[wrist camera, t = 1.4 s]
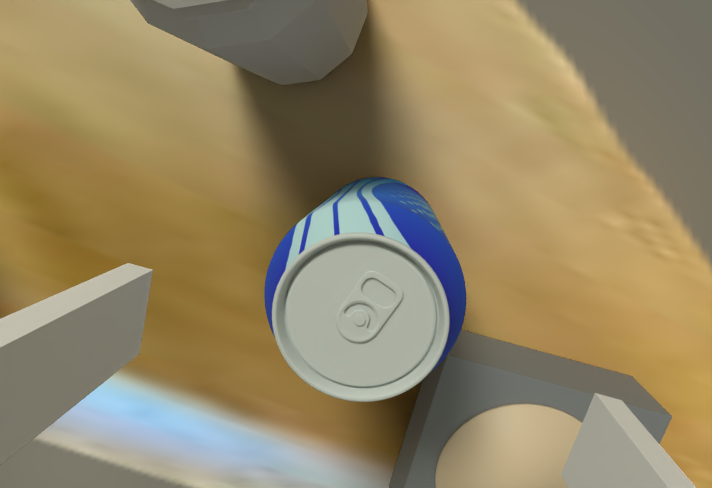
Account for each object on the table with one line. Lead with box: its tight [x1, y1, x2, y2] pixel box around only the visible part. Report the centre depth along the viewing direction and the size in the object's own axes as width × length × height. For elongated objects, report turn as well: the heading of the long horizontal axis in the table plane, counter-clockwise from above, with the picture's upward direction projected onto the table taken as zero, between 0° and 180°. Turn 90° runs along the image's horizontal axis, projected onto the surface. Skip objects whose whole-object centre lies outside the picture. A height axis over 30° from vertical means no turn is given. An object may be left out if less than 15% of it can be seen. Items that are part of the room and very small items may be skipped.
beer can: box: [265, 177, 466, 402], centre depth 25 cm, size 8×8×16 cm
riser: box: [389, 330, 672, 488], centre depth 33 cm, size 14×14×5 cm
